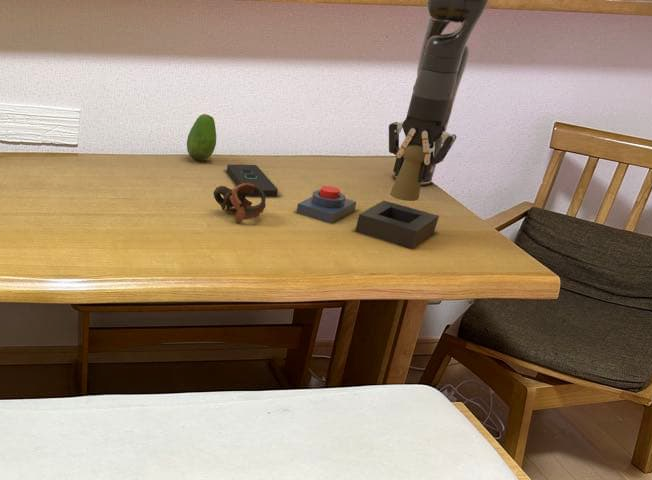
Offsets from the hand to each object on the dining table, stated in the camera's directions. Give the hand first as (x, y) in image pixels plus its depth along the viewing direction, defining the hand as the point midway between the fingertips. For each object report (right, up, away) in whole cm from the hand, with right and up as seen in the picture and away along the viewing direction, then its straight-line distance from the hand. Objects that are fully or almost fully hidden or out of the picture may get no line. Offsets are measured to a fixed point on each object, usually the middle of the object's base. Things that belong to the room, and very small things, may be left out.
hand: (409, 177), depth 160 cm
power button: (-14, 0, +13) cm, 19 cm away
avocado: (-40, +18, +44) cm, 62 cm away
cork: (0, -3, +2) cm, 4 cm away
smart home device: (-29, +7, +30) cm, 42 cm away
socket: (-1, -10, +7) cm, 12 cm away
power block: (-14, -3, +15) cm, 21 cm away
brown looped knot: (-35, -6, +10) cm, 37 cm away
